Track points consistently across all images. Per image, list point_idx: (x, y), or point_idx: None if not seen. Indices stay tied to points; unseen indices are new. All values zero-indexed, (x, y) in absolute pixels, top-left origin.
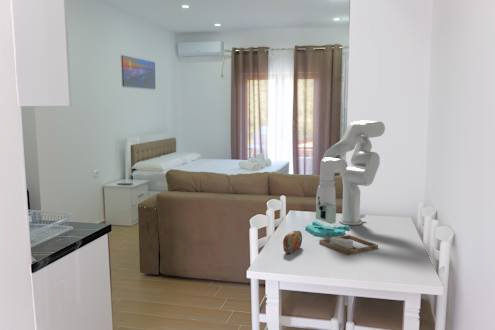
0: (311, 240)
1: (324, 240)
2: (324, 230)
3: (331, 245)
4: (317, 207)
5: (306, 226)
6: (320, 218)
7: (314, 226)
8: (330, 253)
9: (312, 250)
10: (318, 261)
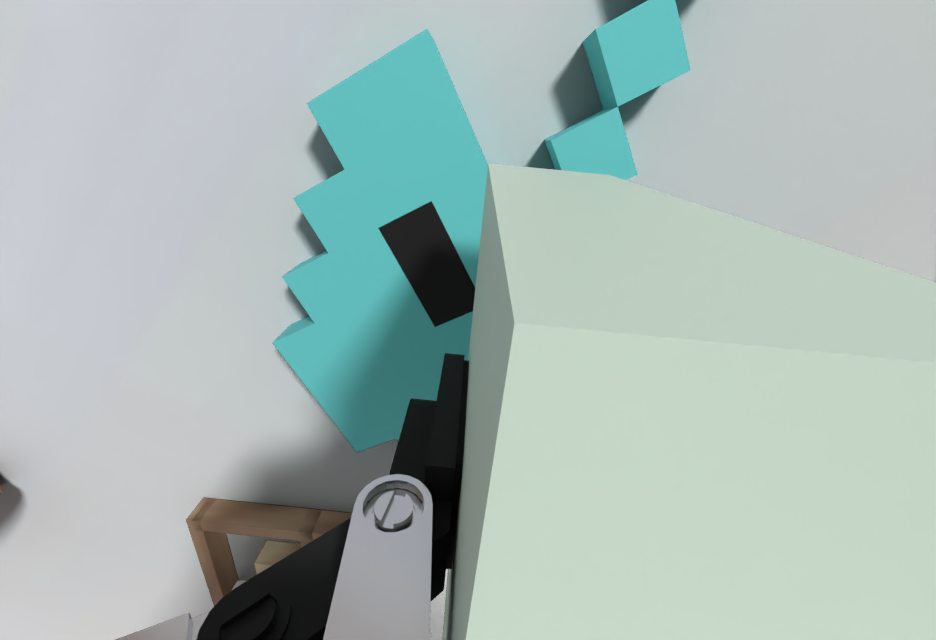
0: (181, 421)
1: (232, 531)
2: (420, 382)
3: (214, 605)
4: (482, 306)
5: (332, 98)
6: (472, 318)
7: (443, 179)
8: (173, 615)
9: (84, 546)
10: (49, 636)
